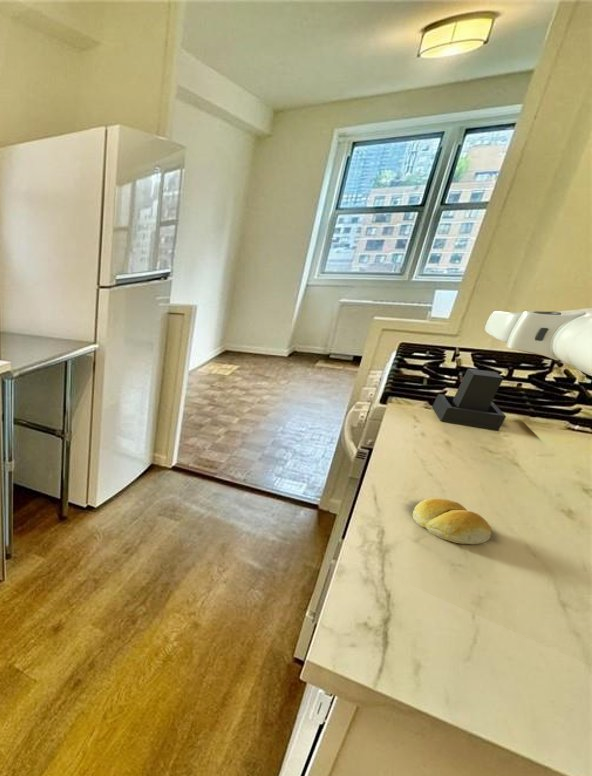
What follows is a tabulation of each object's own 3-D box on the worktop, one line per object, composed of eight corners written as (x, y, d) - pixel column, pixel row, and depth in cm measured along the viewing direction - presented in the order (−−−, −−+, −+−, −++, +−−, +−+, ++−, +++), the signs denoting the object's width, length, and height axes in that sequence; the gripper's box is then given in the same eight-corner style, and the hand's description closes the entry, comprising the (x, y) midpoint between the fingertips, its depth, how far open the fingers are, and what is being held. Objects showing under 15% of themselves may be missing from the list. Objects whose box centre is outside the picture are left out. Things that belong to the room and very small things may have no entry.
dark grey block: (475, 413, 113) (496, 371, 108) (481, 420, 109) (503, 378, 104) (448, 408, 115) (467, 368, 110) (453, 415, 111) (473, 374, 106)
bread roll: (444, 510, 79) (455, 490, 77) (497, 545, 71) (511, 523, 69) (395, 511, 78) (405, 490, 77) (443, 546, 70) (455, 524, 69)
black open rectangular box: (485, 415, 114) (492, 401, 112) (498, 430, 106) (506, 416, 105) (431, 407, 118) (438, 393, 117) (440, 421, 111) (447, 407, 109)
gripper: (689, 324, 75) (633, 308, 86) (515, 311, 83) (484, 298, 94) (662, 363, 78) (612, 343, 89) (497, 347, 85) (469, 331, 97)
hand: (545, 320), depth 91 cm, fingers open, 8 cm apart
